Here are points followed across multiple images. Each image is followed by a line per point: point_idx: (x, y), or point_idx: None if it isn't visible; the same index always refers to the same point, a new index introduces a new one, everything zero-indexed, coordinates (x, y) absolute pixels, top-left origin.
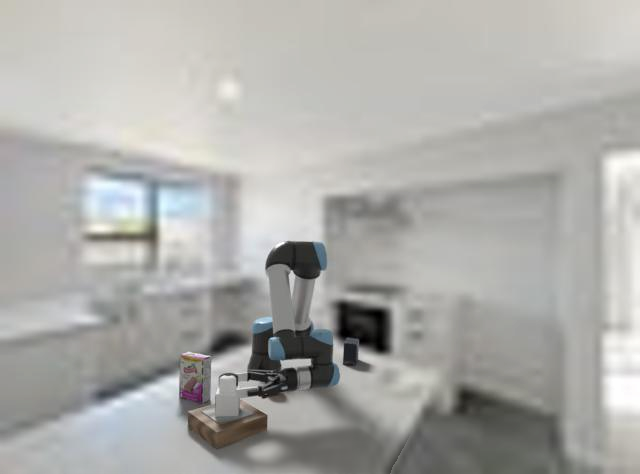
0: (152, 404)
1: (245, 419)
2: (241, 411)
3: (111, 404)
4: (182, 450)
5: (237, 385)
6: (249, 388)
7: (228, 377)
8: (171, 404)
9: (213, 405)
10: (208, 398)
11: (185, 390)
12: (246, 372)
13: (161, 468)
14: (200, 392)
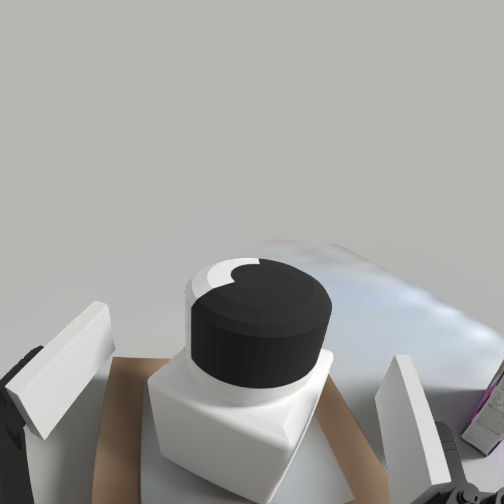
0: (448, 347)
1: (120, 469)
2: (207, 494)
3: (441, 305)
4: (178, 347)
5: (204, 370)
6: (44, 350)
7: (212, 266)
8: (451, 375)
9: (344, 422)
10: (483, 448)
11: (492, 379)
12: (444, 476)
13: (141, 308)
14: (479, 406)
